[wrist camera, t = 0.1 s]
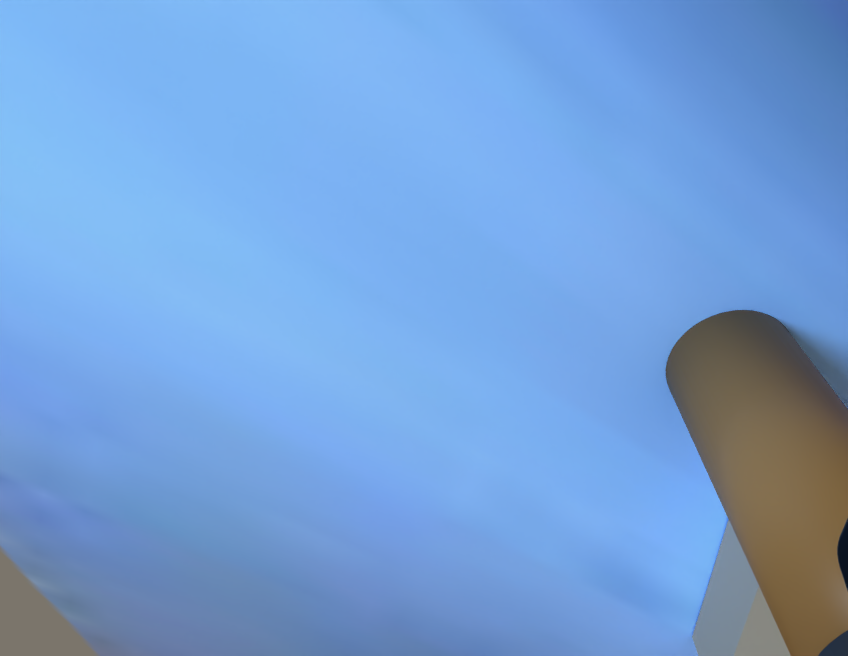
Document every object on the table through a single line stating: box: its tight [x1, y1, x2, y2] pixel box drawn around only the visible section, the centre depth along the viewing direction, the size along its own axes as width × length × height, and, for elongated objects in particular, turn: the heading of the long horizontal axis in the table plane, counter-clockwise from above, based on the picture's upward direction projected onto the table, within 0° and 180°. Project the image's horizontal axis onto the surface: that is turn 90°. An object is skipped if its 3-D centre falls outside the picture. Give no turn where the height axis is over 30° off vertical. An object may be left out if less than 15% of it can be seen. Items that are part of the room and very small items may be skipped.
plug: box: [666, 310, 848, 656], centre depth 19 cm, size 4×4×13 cm
